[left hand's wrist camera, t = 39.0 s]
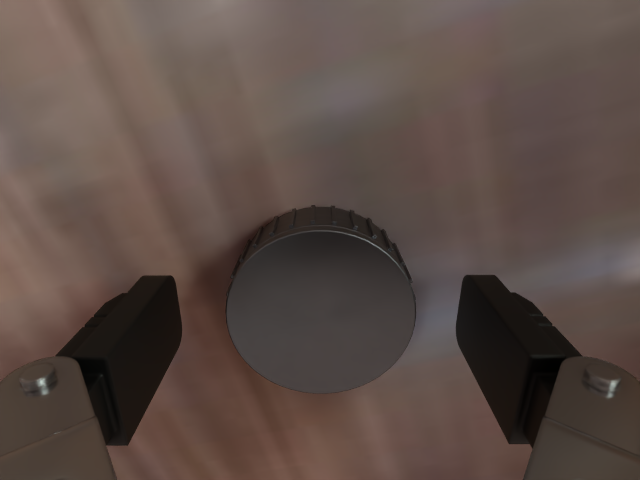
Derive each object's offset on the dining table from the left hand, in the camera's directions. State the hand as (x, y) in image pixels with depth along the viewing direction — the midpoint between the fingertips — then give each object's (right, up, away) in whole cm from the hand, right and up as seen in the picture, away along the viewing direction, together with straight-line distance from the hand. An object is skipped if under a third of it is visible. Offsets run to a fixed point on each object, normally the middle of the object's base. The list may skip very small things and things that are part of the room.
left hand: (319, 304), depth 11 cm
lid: (0, 0, 0) cm, 0 cm away
